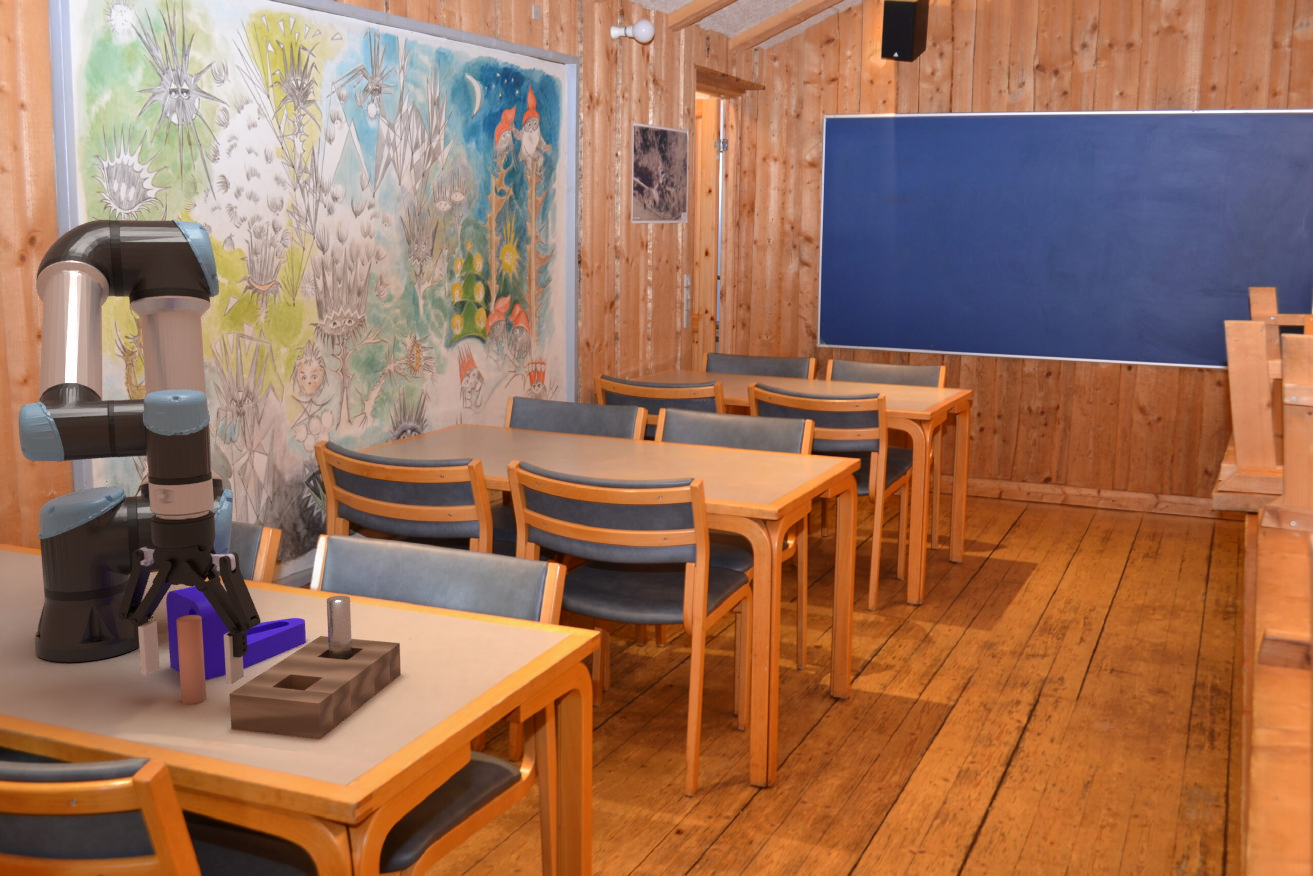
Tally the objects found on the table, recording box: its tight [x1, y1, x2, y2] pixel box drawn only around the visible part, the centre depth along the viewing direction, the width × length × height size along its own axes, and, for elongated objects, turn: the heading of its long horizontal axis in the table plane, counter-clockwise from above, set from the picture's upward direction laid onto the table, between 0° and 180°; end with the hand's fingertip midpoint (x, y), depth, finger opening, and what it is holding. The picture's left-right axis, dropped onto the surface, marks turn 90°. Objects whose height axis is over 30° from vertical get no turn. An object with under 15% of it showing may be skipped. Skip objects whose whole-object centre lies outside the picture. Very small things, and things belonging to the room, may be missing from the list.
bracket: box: [165, 586, 307, 681], centre depth 168 cm, size 18×11×12 cm, turn 136°
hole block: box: [229, 635, 401, 740], centre depth 152 cm, size 22×12×6 cm, turn 167°
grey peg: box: [326, 595, 353, 660], centre depth 156 cm, size 3×3×12 cm
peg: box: [176, 615, 207, 706], centre depth 151 cm, size 3×3×12 cm
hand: (192, 676), depth 151 cm, fingers open, 12 cm apart
